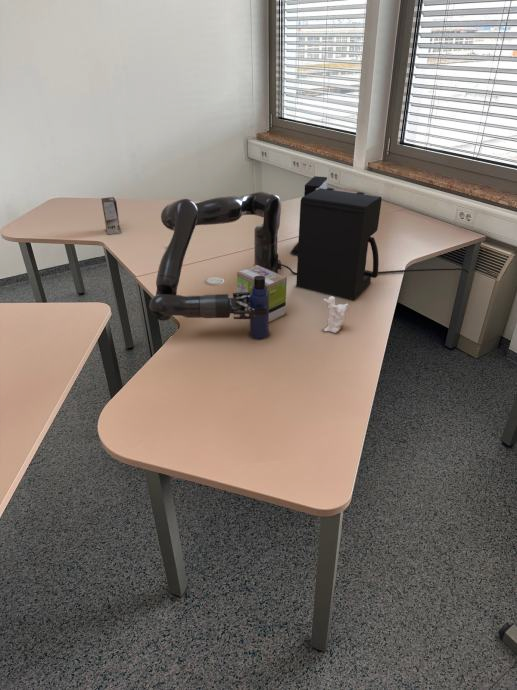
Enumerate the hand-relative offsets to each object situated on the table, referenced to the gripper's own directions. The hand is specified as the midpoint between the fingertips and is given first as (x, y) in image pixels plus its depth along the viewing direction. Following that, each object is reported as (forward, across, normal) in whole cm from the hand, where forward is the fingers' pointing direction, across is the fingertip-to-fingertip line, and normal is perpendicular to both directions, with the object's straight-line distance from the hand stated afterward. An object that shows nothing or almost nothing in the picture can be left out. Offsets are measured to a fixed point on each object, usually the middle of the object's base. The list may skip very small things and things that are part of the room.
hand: (265, 304), depth 154 cm
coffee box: (-70, +109, +11) cm, 130 cm away
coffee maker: (+32, +36, +11) cm, 50 cm away
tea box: (0, +16, +11) cm, 19 cm away
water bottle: (-2, 0, +11) cm, 11 cm away
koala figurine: (+23, +2, +11) cm, 26 cm away
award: (+31, +82, +11) cm, 88 cm away
